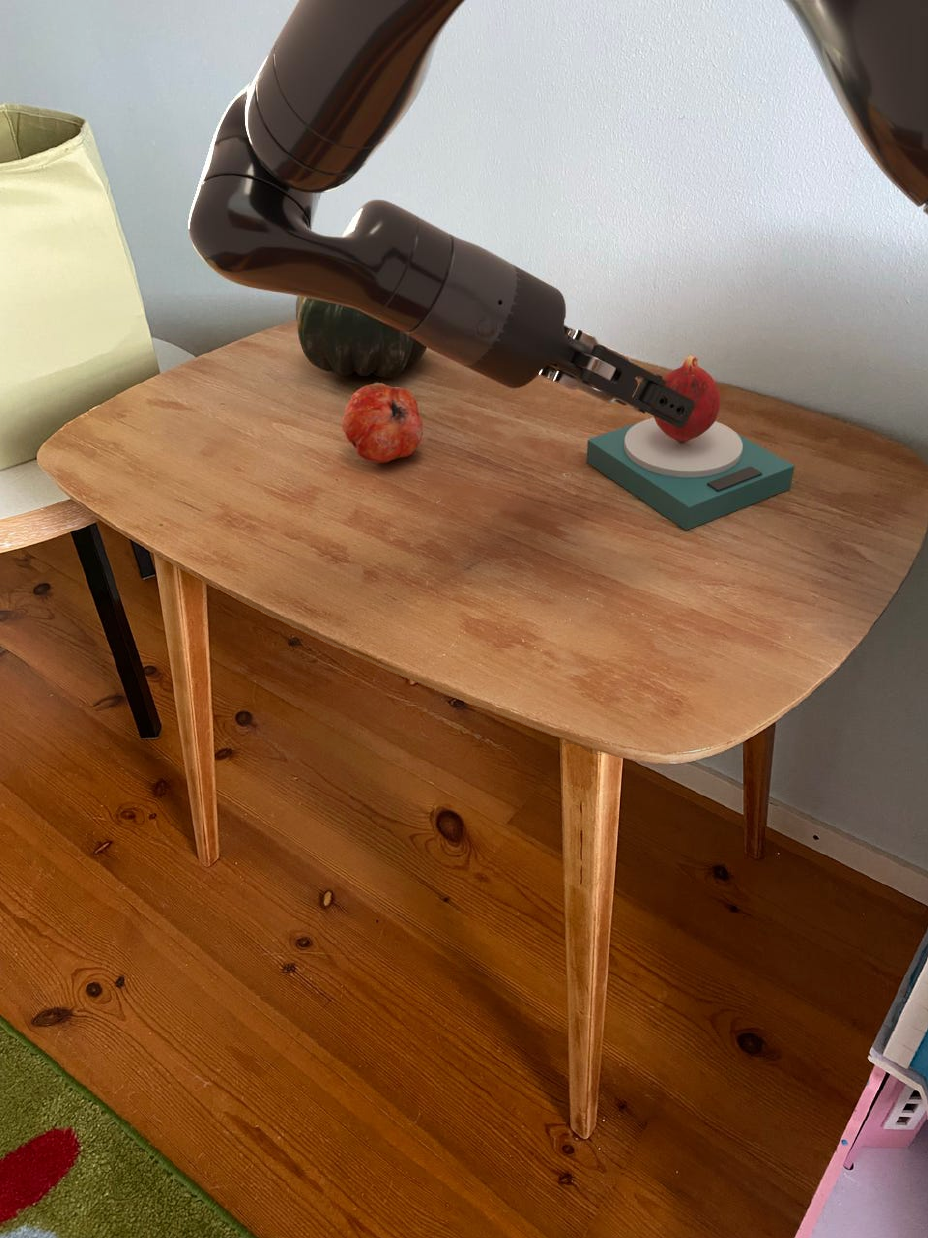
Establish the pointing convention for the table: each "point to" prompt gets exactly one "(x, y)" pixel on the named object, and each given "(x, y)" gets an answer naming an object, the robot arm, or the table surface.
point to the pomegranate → (382, 422)
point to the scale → (689, 470)
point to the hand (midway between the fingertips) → (658, 403)
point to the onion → (701, 391)
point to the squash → (353, 340)
